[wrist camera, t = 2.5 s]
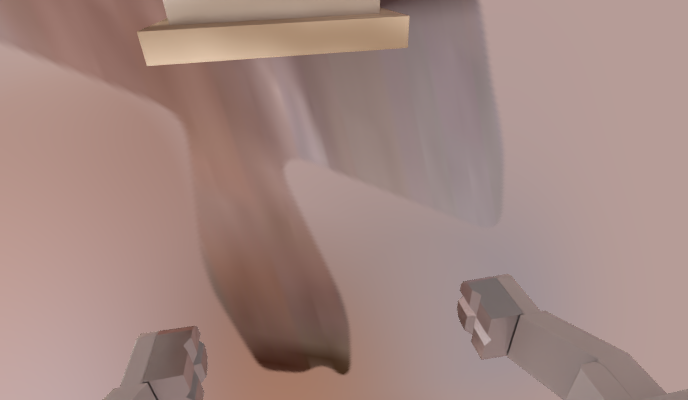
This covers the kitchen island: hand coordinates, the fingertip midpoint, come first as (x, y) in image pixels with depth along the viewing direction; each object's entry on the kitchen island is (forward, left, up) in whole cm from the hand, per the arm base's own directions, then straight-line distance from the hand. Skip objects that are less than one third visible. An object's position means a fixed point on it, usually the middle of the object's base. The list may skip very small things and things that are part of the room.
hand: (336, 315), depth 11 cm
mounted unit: (-9, 0, -29) cm, 30 cm away
